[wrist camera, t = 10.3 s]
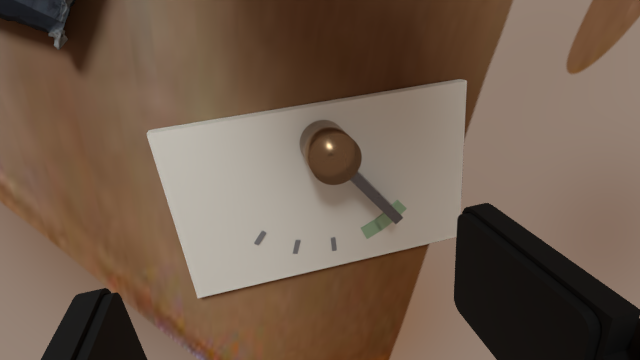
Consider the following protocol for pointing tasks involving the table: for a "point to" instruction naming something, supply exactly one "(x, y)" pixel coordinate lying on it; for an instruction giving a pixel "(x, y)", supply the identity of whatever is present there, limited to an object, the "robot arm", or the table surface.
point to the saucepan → (339, 161)
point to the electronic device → (39, 15)
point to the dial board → (311, 185)
